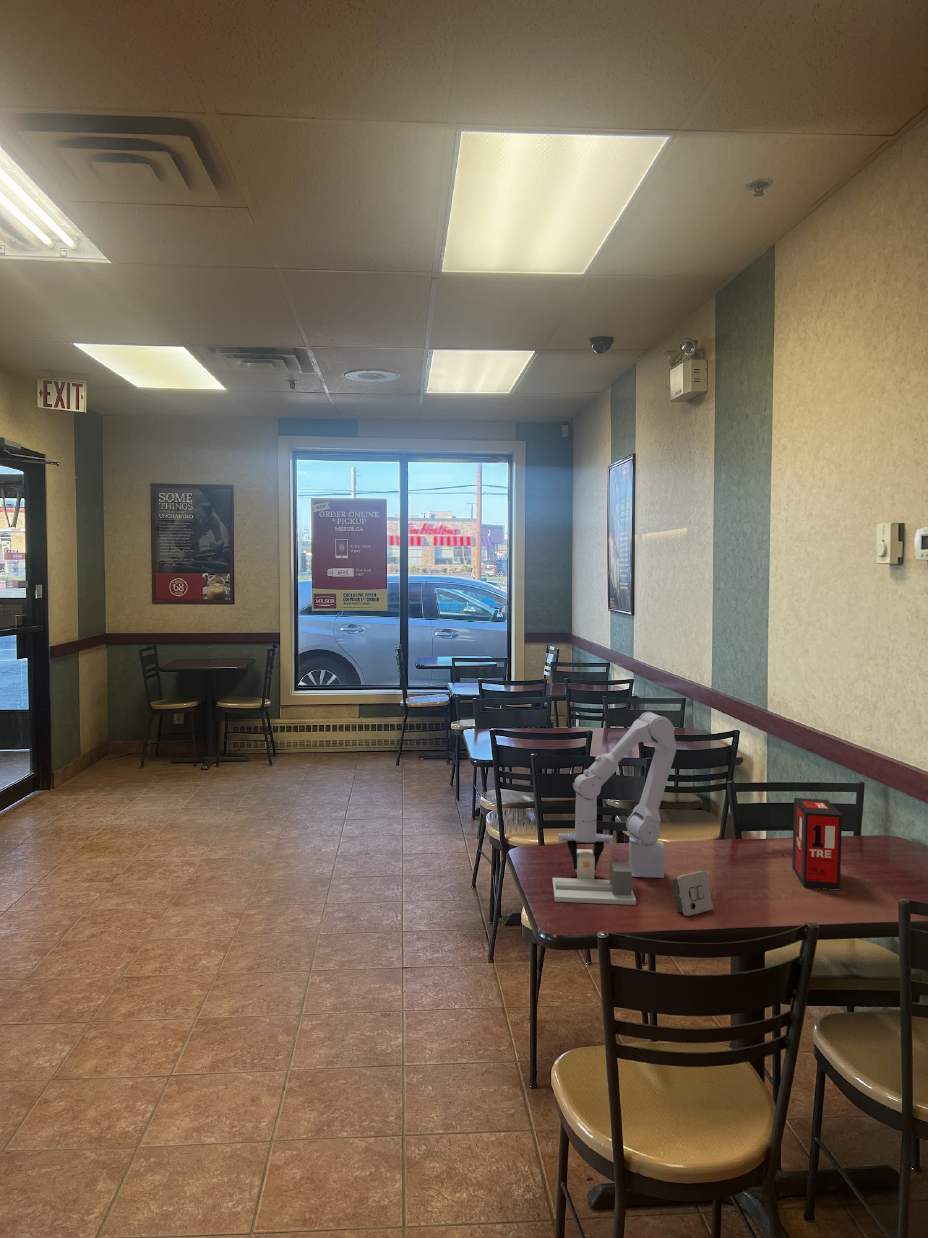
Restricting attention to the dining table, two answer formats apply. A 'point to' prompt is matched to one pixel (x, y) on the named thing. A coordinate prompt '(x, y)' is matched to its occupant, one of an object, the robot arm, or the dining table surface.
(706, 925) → the dining table surface
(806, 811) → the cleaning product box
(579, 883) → the rail plate
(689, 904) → the electrical switch
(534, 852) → the dining table surface
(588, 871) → the block
